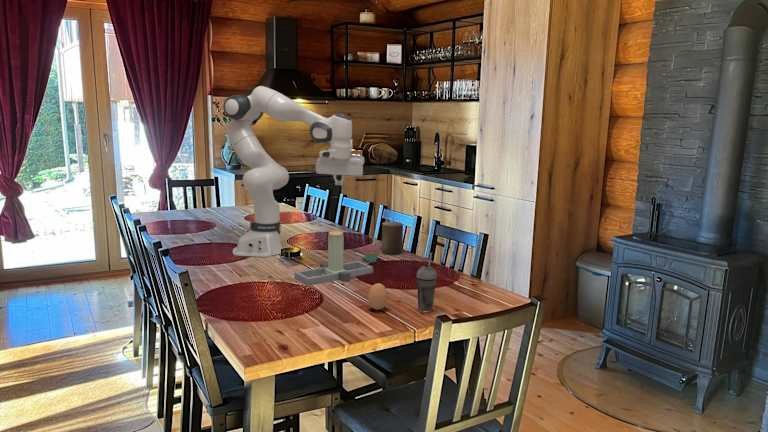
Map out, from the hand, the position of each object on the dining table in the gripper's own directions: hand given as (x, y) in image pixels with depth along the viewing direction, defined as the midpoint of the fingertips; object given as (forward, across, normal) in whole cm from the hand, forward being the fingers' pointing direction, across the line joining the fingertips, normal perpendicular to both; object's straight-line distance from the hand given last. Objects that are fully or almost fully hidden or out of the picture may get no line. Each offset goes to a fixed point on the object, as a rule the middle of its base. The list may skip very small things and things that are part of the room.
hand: (338, 184), depth 246 cm
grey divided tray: (+31, -1, +27) cm, 41 cm away
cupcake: (+32, -16, +5) cm, 36 cm away
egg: (+27, -17, +64) cm, 72 cm away
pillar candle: (+33, -26, -10) cm, 43 cm away
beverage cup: (+27, -33, +65) cm, 77 cm away
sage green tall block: (+31, -1, +27) cm, 41 cm away
